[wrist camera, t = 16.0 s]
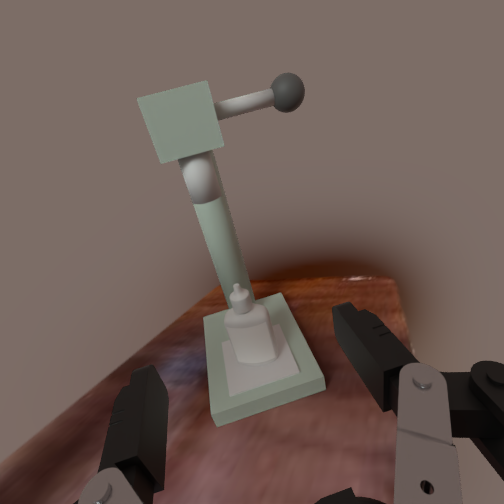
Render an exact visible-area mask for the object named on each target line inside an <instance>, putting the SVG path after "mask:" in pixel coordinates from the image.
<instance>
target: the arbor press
mask: <svg viewBox="0 0 504 504" xmlns="http://www.w3.org/2000/svg"><path fill="white" fill-rule="evenodd" d="M304 94H305V89H304V85H303V82H302V80H301V79H300V78H299V77H298V76H297V75H295V74H292V73H284V74H281V75H279V76H278V77H277V78H276V79H275V80H274V81H273V83H272V85H271V88H270V89H267V90H263V91H260V92H256V93H252V94H248V95H245V96H240V97H237V98H233V99H229V100H225V101H221V102H218V103H214V104H213V101H212V97H211V93H210V89H209V86H208V82H207V80H206V81H202V82H198V83H195V84H191V85H187V86H183V87H179V88H175V89H171V90H168V91H164V92H160V93H156V94H152V95H148V96H144V97H140V98H137V102H138V104H139V107H140V109H141V112H142V115H143V117H144V120H145V123H146V126H147V128H148V131H149V134H150V136H151V139H152V142H153V144H154V147H155V150H156V152H157V155H158V158H159V160H160V163H161V164H162V163H165V162H169V161H173V160H176V159H178V162H179V165H180V168H181V171H182V174H183V177H184V180H185V183H186V185H187V188H188V191H189V194H190V197H191V200H192V203H193V205H194V208H195V211H196V214H197V217H198V220H199V223H200V226H201V228H202V231H203V234H204V237H205V240H206V243H207V246H208V249H209V252H210V255H211V258H212V260H213V263H214V266H215V269H216V272H217V275H218V278H219V281H220V284H221V287H222V289H223V292H224V295H225V298H226V301H227V304H228V307H229V309H227V310H224V311H221V312H218V313H215V314H211V315H208V316H205V317H203V320H204V333H205V345H206V358H207V371H208V383H209V396H210V408H211V416H212V418H213V420H214V422H215V424H216V426H217V427H219V426H222V425H225V424H228V423H231V422H234V421H237V420H240V419H243V418H245V417H248V416H251V415H254V414H257V413H260V412H263V411H266V410H269V409H271V408H274V407H277V406H280V405H283V404H286V403H289V402H292V401H295V400H297V399H300V398H303V397H306V396H309V395H312V394H315V393H318V392H321V391H323V390H326V386H325V380H324V376H323V374H322V372H321V370H320V368H319V366H318V364H317V362H316V360H315V358H314V356H313V354H312V352H311V350H310V348H309V346H308V344H307V342H306V340H305V338H304V336H303V335H302V333H301V331H300V329H299V327H298V325H297V323H296V321H295V319H294V317H293V315H292V313H291V311H290V309H289V307H288V305H287V303H286V301H285V299H284V297H283V295H282V294H281V293H278V294H275V295H271V296H268V297H265V298H262V299H259V300H256V301H255V298H254V294H253V291H252V287H251V284H250V280H249V277H248V273H247V270H246V266H245V263H244V259H243V256H242V252H241V249H240V245H239V242H238V238H237V235H236V231H235V227H234V224H233V220H232V217H231V213H230V210H229V206H228V203H227V199H226V196H225V192H224V189H223V185H222V181H221V178H220V175H219V171H218V167H217V164H216V160H215V157H214V153H213V149H216V148H220V147H223V146H224V142H223V139H222V135H221V131H220V127H219V123H218V120H222V119H225V118H229V117H233V116H237V115H241V114H244V113H248V112H252V111H255V110H259V109H263V108H267V107H271V106H274V107H275V108H276V109H277V110H279V111H281V112H285V113H287V112H292V111H294V110H296V109H297V108H298V107H299V106H300V105H301V103H302V101H303V99H304ZM236 283H238V284H239V285H240V287H241V288H243V289H247V290H248V291H249V293H250V297H251V300H252V303H255V304H259V305H263V306H265V307H266V308H267V309H268V312H269V315H270V319H271V323H272V326H273V330H274V334H275V338H276V342H277V345H278V357H277V359H276V360H275V361H273V362H270V363H268V364H264V365H259V366H247V365H243V364H240V363H239V362H238V361H237V359H236V356H235V353H234V350H233V348H232V345H231V342H230V339H229V337H228V334H227V331H226V328H225V325H224V318H225V314H226V312H227V311H228V310H230V309H231V308H233V307H232V304H231V301H230V298H229V296H230V294H231V293H232V292H233V291H234V288H233V285H234V284H236Z"/></svg>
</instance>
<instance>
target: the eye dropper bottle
mask: <svg viewBox="0 0 504 504" xmlns="http://www.w3.org/2000/svg"><path fill="white" fill-rule="evenodd" d="M233 288H234V291H233V292H232V293H231V294H230V296H229V298H230V301H231V304H232V307H233V308H231V309H230V310H228V311H227V312H226V314H225V318H224V325H225V328H226V331H227V334H228V337H229V339H230V342H231V345H232V348H233V350H234V353H235V356H236V359H237V361H238V362H239V363H240V364H243V365H247V366H259V365H264V364H268V363H270V362H273V361H275V360H276V359H277V357H278V345H277V342H276V338H275V334H274V330H273V326H272V323H271V319H270V315H269V312H268V309H267V308H266V307H265V306H263V305H259V304H255V303H252V300H251V297H250V293H249V291H248V290H247V289H243V288H241V287H240V285H239V284H238V283H236V284H234V285H233Z"/></svg>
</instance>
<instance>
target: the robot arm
mask: <svg viewBox="0 0 504 504" xmlns="http://www.w3.org/2000/svg"><path fill="white" fill-rule="evenodd" d="M332 313H333V322H334V331H335V336H336V338H337V341H338V343H339V345H340V346H341V348H342V350H343V351H344V353H345V354H346V356H347V357H348V359H349V360H350V362H351V363H352V365H353V367H354V368H355V370H356V371H357V373H358V374H359V376H360V377H361V379H362V380H363V382H364V383H365V385H366V387H367V388H368V390H369V391H370V393H371V394H372V396H373V397H374V399H375V400H376V402H377V403H378V405H379V407H380V408H381V410H382V411H383V412H386V411H389V410H393V412H394V413H395V415H396V416H397V440H396V462H395V485H394V504H463V502H462V493H461V483H460V474H459V465H458V456H457V450H456V447H455V445H453V441H452V437H457V438H470V439H471V440H472V441H473V443H474V444H475V445H476V446H477V448H478V449H479V450H480V452H481V453H482V454H483V455H484V457H485V458H486V459H487V460H488V462H489V463H490V464H491V466H492V467H493V468H494V469H495V471H496V472H497V473H498V474H499V475H500V477H501V478H502V479H503V481H504V364H501V363H498V362H493V361H480V362H477V363H476V364H474V365H473V367H472V368H471V372H450V373H447V372H439V371H438V370H436V369H435V368H433V367H431V366H429V365H426V364H423V363H420V362H419V361H418V360H417V359H416V358H415V357H414V356H413V355H412V354H411V353H410V352H409V351H408V349H407V348H406V347H405V346H404V345H403V344H402V343H401V342H400V341H399V340H398V339H397V337H396V336H395V335H394V334H393V333H391V331H390V330H389V329H388V328H387V327H386V326H385V325H384V323H383V322H382V321H381V320H380V319H379V318H378V317H377V316H376V315H375V314H373V313H371V312H369V311H367V310H365V309H364V310H361V311H358V310H357V309H356V308H355V307H354V306H353V305H352V303H350V302H346V303H343V304H339V305H336V306H333V307H332ZM168 405H169V399H168V392H167V389H166V386H165V385H164V383H163V381H162V379H161V378H160V376H159V374H158V372H157V371H156V369H155V367H154V366H153V365H152V364H151V365H148V366H145V367H142V368H138V369H135V370H133V372H132V375H131V380H130V385H128V386H125V387H123V388H122V389H121V391H120V393H119V394H118V396H117V398H116V399H115V402H114V406H113V411H112V416H111V419H110V423H109V425H110V427H109V428H108V432H107V436H106V440H105V445H104V449H103V453H102V457H101V462H100V466H99V470H98V473H97V474H96V475H95V476H94V477H93V478H92V479H91V480H90V481H89V482H88V484H87V485H86V486H85V488H84V490H83V491H82V493H81V496H80V498H79V500H77V501H76V502H75V503H74V504H153V494H154V493H156V492H159V491H162V490H164V481H165V462H166V443H167V424H168ZM315 504H386V503H383V502H381V501H379V500H375V499H371V498H366V497H355V495H354V493H353V490H352V488H351V487H350V488H348V489H345V490H342V491H340V492H337V493H335V494H332V495H329V496H327V497H324V498H321V499H320V500H319V501H317V502H316V503H315Z"/></svg>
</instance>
